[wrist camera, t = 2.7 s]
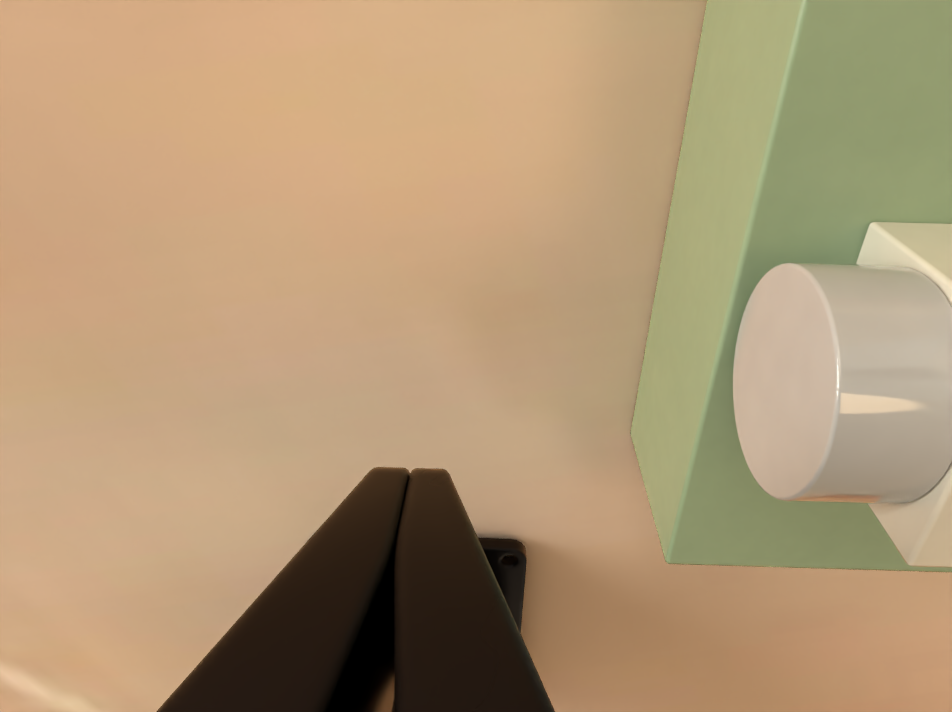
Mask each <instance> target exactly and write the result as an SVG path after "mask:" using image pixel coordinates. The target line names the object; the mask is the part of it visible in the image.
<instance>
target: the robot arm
mask: <svg viewBox="0 0 952 712" xmlns="http://www.w3.org/2000/svg"><path fill="white" fill-rule="evenodd" d="M507 555H512V556H510V557H508V556H507ZM525 572H526V549H525V546H524V545H523V544H522V543H521V542H519V541H517V540H512V539H489V538H478V537H477V535H476V533H475V531H474V528H473V526H472V524H471V522H470V519H469V517H468V515H467V513H466V510H465V508H464V506H463V504H462V501H461V499H460V497H459V495H458V492H457V490H456V488H455V486H454V483H453V481H452V479H451V477H450V475H449V473H448V472H447V471H446V470H444V469H427V468H416V469H414V470H412V472H411V473H409V471H408V470H407V469H406V468H392V467H376V468H374V469H372V470H371V471H370V472H369V473H368V474H367V475H366V476H365V477H364V478H363V479H362V481H361V482H360V483H359V484H358V485H357V486H356V487H355V488H354V490H353V491H352V492H351V493H350V494H349V495H348V496H347V497H346V499H345V500H344V501H343V502H342V503H341V504H340V505H339V506H338V508H337V509H336V510H335V511H334V512H333V513H332V514H331V515H330V517H329V518H328V519H327V520H326V521H325V522H324V523H323V525H322V526H321V527H320V528H319V529H318V530H317V531H316V532H315V534H314V535H313V536H312V537H311V538H310V539H309V540H308V541H307V543H306V544H305V545H304V546H303V547H302V548H301V549H300V550H299V552H298V553H297V554H296V555H295V556H294V557H293V558H292V559H291V561H290V562H289V563H288V564H287V565H286V566H285V567H284V568H283V570H282V571H281V572H280V573H279V574H278V575H277V576H276V578H275V579H274V580H273V581H272V582H271V583H270V584H269V585H268V587H267V588H266V589H265V590H264V591H263V592H262V593H261V594H260V596H259V597H258V598H257V599H256V600H255V601H254V602H253V603H252V605H251V606H250V607H249V608H248V609H247V610H246V611H245V612H244V614H243V615H242V616H241V617H240V618H239V619H238V620H237V621H236V623H235V624H234V625H233V626H232V627H231V628H230V629H229V631H228V632H227V633H226V634H225V635H224V636H223V637H222V638H221V640H220V641H219V642H218V643H217V644H216V645H215V646H214V647H213V649H212V650H211V651H210V652H209V653H208V654H207V655H206V656H205V658H204V659H203V660H202V661H201V662H200V663H199V664H198V665H197V667H196V668H195V669H194V670H193V671H192V672H191V673H190V674H189V676H188V677H187V678H186V679H185V680H184V681H183V682H182V684H181V685H180V686H179V687H178V688H177V689H176V690H175V691H174V693H173V694H172V695H171V696H170V697H169V698H168V699H167V700H166V702H165V703H164V704H163V705H162V706H161V707H160V708H159V709H158V711H157V712H555V711H554V708H553V706H552V704H551V702H550V699H549V697H548V695H547V693H546V690H545V688H544V686H543V684H542V681H541V679H540V677H539V675H538V672H537V670H536V668H535V666H534V663H533V661H532V659H531V657H530V654H529V652H528V650H527V648H526V645H525V643H524V641H523V639H522V636H521V634H520V631H521V620H522V608H523V596H524V584H525Z"/></svg>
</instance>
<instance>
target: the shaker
mask: <svg viewBox="0 0 952 712" xmlns="http://www.w3.org/2000/svg"><path fill="white" fill-rule="evenodd" d="M733 401H734V413H735V420H736V427H737V432H738V437H739V441H740V445H741V448H742V452H743V455H744V458H745V460H746V463H747V465H748V467H749V470H750V471H751V473H752V475H753V477H754V479H755V480H756V482H757V483H758V484H759V486H760V487H761V488H762V489H763V490H764V491H765V492H766V493H767V494H769V495H770V496H772V497H774V498H776V499H779V500H781V501H792V502H827V503H862V504H868V506H869V507H870V509H871V510H872V512H873V513H874V515H875V516H876V518H877V519H878V521H879V522H880V524H881V525H882V527H883V528H884V530H885V531H886V533H887V535H888V536H889V538H890V539H891V541H892V542H893V544H894V545H895V547H896V548H897V550H898V551H899V553H900V554H901V556H902V557H903V559H904V560H905V562H906V563H907V564H908V565H910V566H920V567H952V224H936V223H896V222H872V223H870V224H869V226H868V229H867V232H866V235H865V238H864V241H863V244H862V247H861V250H860V252H859V255H858V258H857V261H856V264H835V263H797V262H790V263H783V264H780V265H778V266H775V267H773V268H772V269H770V270H769V271H768V272H767V273H766V274H765V275H764V276H763V277H762V278H761V279H760V281H759V282H758V283H757V285H756V287H755V288H754V290H753V292H752V294H751V296H750V298H749V300H748V302H747V305H746V308H745V310H744V313H743V317H742V320H741V323H740V328H739V332H738V336H737V342H736V348H735V357H734V368H733Z"/></svg>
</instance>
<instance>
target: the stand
mask: <svg viewBox="0 0 952 712" xmlns="http://www.w3.org/2000/svg"><path fill="white" fill-rule="evenodd" d="M872 222H896V223H936V224H952V0H707V4H706V9H705V15H704V21H703V26H702V32H701V37H700V43H699V49H698V54H697V60H696V66H695V71H694V77H693V83H692V88H691V94H690V100H689V105H688V111H687V116H686V122H685V128H684V133H683V139H682V145H681V150H680V156H679V162H678V167H677V173H676V178H675V184H674V190H673V195H672V201H671V207H670V212H669V218H668V224H667V229H666V235H665V241H664V246H663V252H662V257H661V263H660V269H659V274H658V280H657V286H656V291H655V297H654V303H653V308H652V314H651V320H650V325H649V331H648V336H647V342H646V348H645V353H644V359H643V365H642V370H641V376H640V382H639V387H638V393H637V399H636V404H635V410H634V415H633V421H632V427H631V432H630V434H631V438H632V441H633V445H634V449H635V452H636V456H637V460H638V463H639V467H640V470H641V474H642V478H643V481H644V485H645V489H646V492H647V496H648V499H649V503H650V507H651V510H652V514H653V518H654V521H655V525H656V528H657V532H658V536H659V539H660V543H661V547H662V550H663V554H664V557H665V561H666V562H667V563H668V564H688V565H722V566H756V567H790V568H824V569H858V570H892V571H925V572H952V567H920V566H910V565H908V564H907V563H906V562H905V560H904V559H903V557H902V556H901V554H900V553H899V551H898V550H897V548H896V547H895V545H894V544H893V542H892V541H891V539H890V538H889V536H888V535H887V533H886V531H885V530H884V528H883V527H882V525H881V524H880V522H879V521H878V519H877V518H876V516H875V515H874V513H873V512H872V510H871V509H870V507H869V506H868V504H862V503H827V502H792V501H781V500H779V499H776V498H774V497H772V496H770V495H769V494H767V493H766V492H765V491H764V490H763V489H762V488H761V487H760V486H759V484H758V483H757V482H756V480H755V479H754V477H753V475H752V473H751V471H750V470H749V467H748V465H747V463H746V460H745V458H744V455H743V452H742V448H741V445H740V441H739V437H738V432H737V427H736V420H735V413H734V401H733V368H734V357H735V348H736V342H737V336H738V332H739V328H740V323H741V320H742V317H743V313H744V310H745V308H746V305H747V302H748V300H749V298H750V296H751V294H752V292H753V290H754V288H755V287H756V285H757V283H758V282H759V281H760V279H761V278H762V277H763V276H764V275H765V274H766V273H767V272H768V271H769V270H770V269H772V268H773V267H775V266H778V265H780V264H783V263H790V262H797V263H835V264H856V261H857V258H858V255H859V252H860V250H861V247H862V244H863V241H864V238H865V235H866V232H867V229H868V226H869V224H870V223H872Z"/></svg>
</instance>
